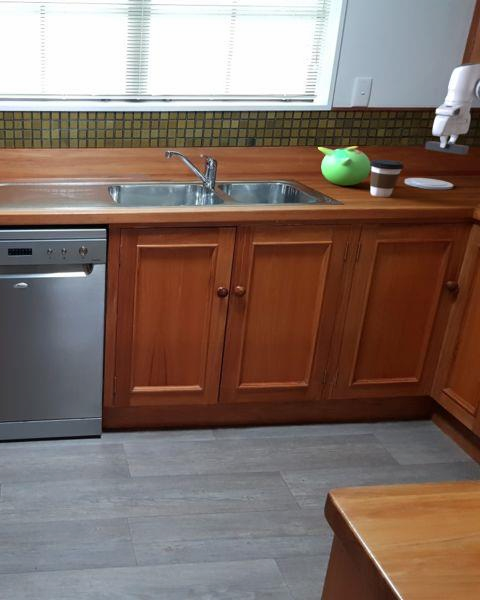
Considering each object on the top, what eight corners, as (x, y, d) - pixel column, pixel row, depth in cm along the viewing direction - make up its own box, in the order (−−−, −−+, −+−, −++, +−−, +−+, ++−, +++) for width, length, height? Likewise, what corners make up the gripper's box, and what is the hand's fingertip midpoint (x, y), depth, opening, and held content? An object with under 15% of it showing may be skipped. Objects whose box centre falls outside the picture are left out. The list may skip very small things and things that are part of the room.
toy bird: (375, 188, 231) (384, 148, 225) (343, 191, 224) (351, 151, 218) (338, 178, 246) (345, 141, 240) (307, 181, 239) (314, 143, 233)
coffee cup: (397, 194, 222) (405, 161, 218) (395, 200, 213) (403, 166, 209) (365, 190, 227) (372, 158, 222) (362, 196, 218) (369, 162, 213)
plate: (453, 183, 242) (454, 180, 242) (452, 191, 229) (453, 188, 228) (406, 178, 250) (406, 175, 249) (402, 185, 236) (403, 182, 236)
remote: (424, 149, 237) (426, 141, 236) (430, 148, 239) (432, 140, 238) (461, 154, 226) (464, 146, 225) (467, 153, 228) (469, 145, 227)
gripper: (461, 107, 234) (451, 143, 240) (433, 109, 224) (424, 147, 229) (478, 108, 230) (468, 146, 235) (451, 111, 219) (441, 150, 224)
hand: (446, 146), depth 232 cm, fingers closed on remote, 4 cm apart
